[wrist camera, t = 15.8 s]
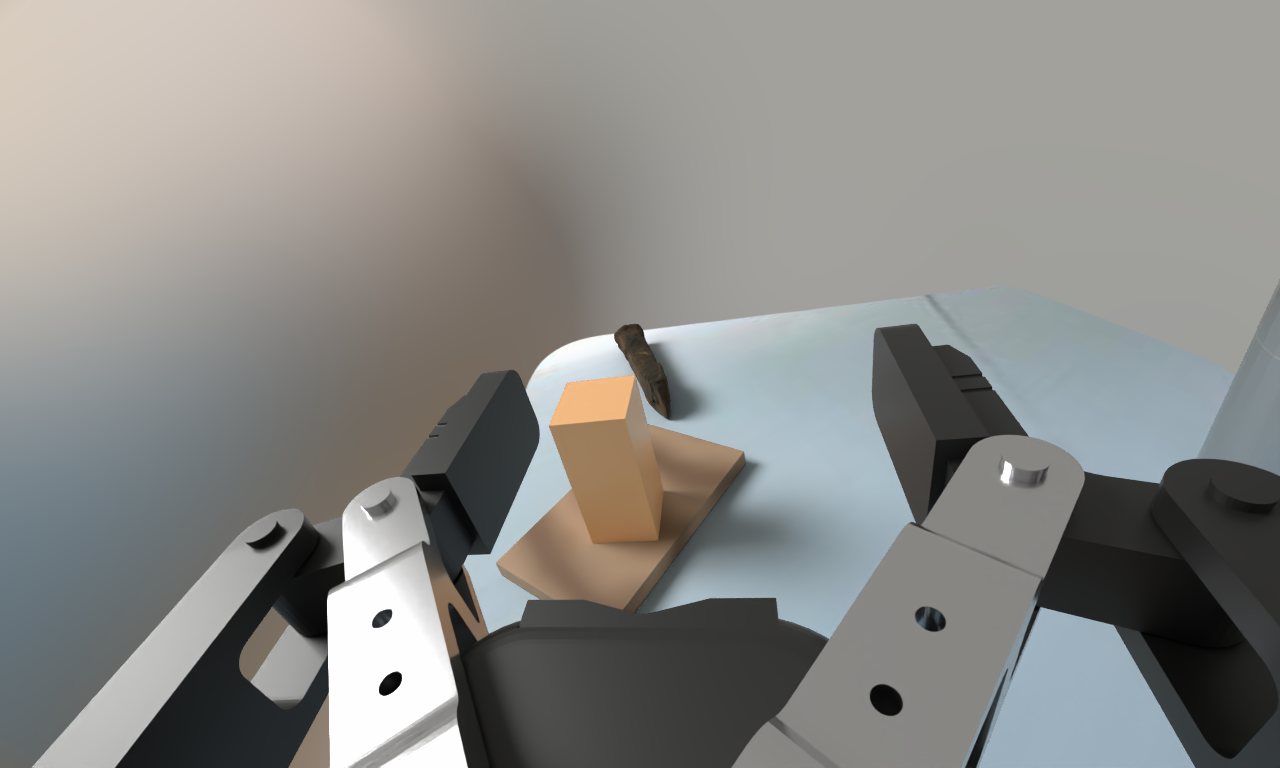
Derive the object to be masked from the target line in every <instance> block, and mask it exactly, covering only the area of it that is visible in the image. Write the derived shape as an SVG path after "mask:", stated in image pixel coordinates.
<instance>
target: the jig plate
mask: <svg viewBox="0 0 1280 768" xmlns="http://www.w3.org/2000/svg"><path fill="white" fill-rule="evenodd" d="M647 425H648V429H649V433H650V437H651V441H652V445H653V449H654V453H655V457H656V462H657V466H658V470H659V474H660V478H661V482H662V486H663V490H664V493H663V502H662V512H661V521H660V530H659V539H658V540H655V541H633V542H612V543H592V540H591V538H590V535H589V532H588V530H587V527H586V524H585V522H584V519H583V516H582V514H581V511H580V508H579V506H578V503H577V500H576V497H575V495H574V492H573V489H571V490H570V491H569V492H568V493H567V494H566V495H565V496H564V497H563V498H562V499H561V500H560V501H559V502H558V503H557V504H556V505H555V506H554V507H553V508H552V509H551V510H550V511H549V512H548V513H547V514H546V515H545V516H543V517H542V518H541V519H540V520H539V521H538V522H537V523H536V524H535V525H534V526H533V527H532V528H531V529H530V530H529V531H528V532H527V533H526V534H525V535H524V536H523V537H522V538H521V539H520V540H519V541H518V542H517V543H516V544H515V545H514V546H513V547H512V548H511V549H510V550H509V551H508V552H507V553H506V554H505V555H504V556H503V557H501V558H500V559H499V560H498V561H497V562H496V565H497V567H498V569H499V570H500V572H501V574H502V575H503V576H504V577H506V578H507V579H509V580H511V581H512V582H514V583H515V584H517V585H518V586H520V587H522V588H523V589H525V590H526V591H528V592H529V593H531V594H533V595H534V596H536V597H537V598H539V599H540V600H588V601H591V602H595V603H599V604H603V605H607V606H610V607H614V608H618V609H622V610H626V611H629V612H633V613H635V612H636V610H637V609H638V608H639V606H640V605H641V604H642V602H643V601H644V600H645V598H646V597H647V595H648V594H649V593H650V591H651V590H652V589H653V587H654V586H655V585H656V583H657V582H658V581H659V579H660V578H661V577H662V575H663V574H664V573H665V571H666V570H667V569H668V567H669V566H670V565H671V563H672V562H673V561H674V559H675V558H676V557H677V555H678V554H679V553H680V551H681V550H682V548H683V547H684V546H685V544H686V543H687V542H688V540H689V539H690V538H691V536H692V535H693V534H694V532H695V531H696V530H697V528H698V527H699V526H700V524H701V523H702V522H703V520H704V519H705V518H706V516H707V515H708V514H709V512H710V511H711V510H712V508H713V507H714V506H715V504H716V503H717V501H718V500H719V499H720V497H721V496H722V495H723V493H724V492H725V491H726V489H727V488H728V487H729V485H730V484H731V483H732V481H733V480H734V479H735V477H736V476H737V475H738V473H739V472H740V471H741V469H742V468H743V467H744V465H745V457H744V451H740V450H737V449H733V448H730V447H726V446H723V445H719V444H716V443H712V442H709V441H705V440H702V439H698V438H695V437H691V436H688V435H684V434H681V433H677V432H674V431H670V430H667V429H663V428H660V427H656V426H653V425H649V424H647Z"/></svg>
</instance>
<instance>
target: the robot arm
mask: <svg viewBox="0 0 1280 768" xmlns="http://www.w3.org/2000/svg"><path fill="white" fill-rule="evenodd" d="M872 400H873V408H874V413H875V417H876V420H877V423H878V426H879V428H880V431H881V433H882V436H883V439H884V441H885V444H886V446H887V449H888V452H889V454H890V457H891V459H892V462H893V465H894V467H895V470H896V472H897V475H898V478H899V480H900V483H901V485H902V488H903V491H904V493H905V496H906V498H907V501H908V504H909V506H910V509H911V511H912V514H913V517H914V519H915V522H916V523H914V522H910V523H908V524H907V525H906V526H905V527H904V528H903V530H902V531H901V532H900V534H899V535H898V537H897V538H896V540H895V541H894V543H893V544H892V546H891V547H890V549H889V550H888V552H887V553H886V555H885V556H884V558H883V559H882V561H881V562H880V564H879V565H878V567H877V569H876V570H875V572H874V573H873V575H872V576H871V578H870V579H869V581H868V582H867V584H866V585H865V587H864V588H863V590H862V591H861V593H860V594H859V596H858V597H857V599H856V600H855V602H854V603H853V605H852V606H851V608H850V609H849V611H848V612H847V614H846V615H845V617H844V618H843V620H842V621H841V623H840V624H839V626H838V627H837V629H836V630H835V632H834V633H833V635H832V636H831V638H830V639H828V638H827V637H825V636H823V635H821V634H819V633H817V632H815V631H813V630H811V629H808V628H806V627H803V626H800V625H798V624H795V623H792V622H789V621H785V620H781V619H778V611H777V603H776V598H710V599H706V600H702V601H698V602H694V603H690V604H686V605H682V606H677V607H673V608H669V609H665V610H661V611H657V612H653V613H649V614H637V613H633V612H629V611H626V610H622V609H618V608H614V607H610V606H607V605H603V604H599V603H595V602H591V601H588V600H528V601H527V604H526V607H525V610H524V613H523V616H522V619H521V621H518V622H515V623H512V624H510V625H507V626H505V627H502V628H500V629H498V630H496V631H494V632H492V633H490V634H489V633H488V630H487V627H486V624H485V621H484V618H483V615H482V612H481V609H480V606H479V603H478V600H477V597H476V594H475V591H474V588H473V585H472V582H471V579H470V576H469V573H468V571H467V570H466V568H465V566H464V565H463V564H464V562H465V560H466V557H467V555H479V554H490V553H491V551H492V549H493V547H494V544H495V542H496V540H497V538H498V535H499V533H500V531H501V528H502V526H503V524H504V522H505V519H506V517H507V515H508V513H509V510H510V508H511V506H512V503H513V501H514V499H515V497H516V494H517V492H518V490H519V488H520V485H521V483H522V481H523V478H524V476H525V474H526V472H527V469H528V467H529V465H530V463H531V460H532V458H533V456H534V453H535V451H536V449H537V447H538V443H539V436H540V433H539V424H538V421H537V418H536V416H535V413H534V411H533V408H532V406H531V403H530V401H529V398H528V395H527V393H526V390H525V388H524V385H523V383H522V380H521V378H520V376H519V374H518V373H517V372H516V371H514V370H506V371H497V372H489V373H483V374H481V375H480V377H479V378H478V379H477V381H476V382H475V384H474V385H473V387H472V388H471V390H470V391H469V392H468V394H467V395H465V396H464V397H462V398H461V399H460V400H459V401H457V402H456V403H455V404H454V405H452V406H451V407H450V408H449V409H448V410H447V411H446V413H445V414H444V416H443V417H442V418H441V420H440V421H439V422H438V426H437V427H435V428H434V429H433V431H432V432H431V434H430V435H429V439H426V441H425V442H424V444H423V445H422V446H421V448H420V449H419V450H418V452H417V453H416V455H415V456H414V457H413V459H412V460H411V462H410V463H409V464H408V466H407V467H406V469H405V470H404V471H403V473H402V474H401V476H400V477H396V478H390V479H386V480H383V481H381V482H378V483H376V484H374V485H372V486H370V487H369V488H367V489H366V490H364V491H363V492H361V493H360V494H359V495H358V496H356V497H355V498H354V499H353V501H351V502H350V504H349V505H348V506H347V508H346V510H345V511H344V514H343V516H341V517H338V518H335V519H332V520H328V521H325V522H322V523H318V524H315V525H312V524H311V523H310V521H309V520H308V519H307V518H306V516H305V515H304V514H303V513H302V512H301V511H300V510H298V509H284V510H280V511H277V512H275V513H272V514H269V515H267V516H265V517H263V518H262V519H260V520H258V521H256V522H255V523H254V524H252V525H250V526H249V527H248V528H247V529H245V530H244V531H243V532H242V533H241V534H240V535H239V536H238V537H237V538H236V539H235V540H234V541H233V542H232V543H231V544H230V545H229V547H228V548H227V549H226V550H225V551H224V552H223V553H222V554H221V555H220V557H219V558H218V559H217V560H216V561H215V562H214V563H213V564H212V566H211V567H210V568H209V569H208V570H207V571H206V572H205V573H204V575H203V576H202V577H201V578H200V579H199V580H198V581H197V582H196V584H195V585H194V586H193V587H192V588H191V589H190V591H188V593H187V594H186V595H185V596H184V597H183V598H182V599H181V600H180V602H179V603H178V604H177V605H176V606H175V607H174V608H173V609H172V611H171V612H170V613H169V614H168V615H167V616H166V617H165V618H164V620H163V621H162V622H161V623H160V624H159V625H158V626H157V627H156V629H155V630H154V631H153V632H152V633H151V634H150V635H149V636H148V638H147V639H146V640H145V641H144V642H143V643H142V644H141V646H140V647H139V648H138V649H137V650H136V651H135V652H134V653H133V654H132V656H131V657H130V658H129V659H128V660H127V661H126V662H125V663H124V665H123V666H122V667H121V668H120V669H119V670H118V671H117V673H115V675H114V676H113V677H112V678H111V679H110V680H109V681H108V683H107V684H106V685H105V686H104V687H103V688H102V689H101V691H99V693H98V694H97V695H96V696H95V697H94V698H93V699H92V700H91V702H90V703H89V704H88V705H87V706H86V707H85V708H84V710H83V711H82V712H81V713H80V714H79V715H78V716H77V717H76V718H75V720H74V721H73V722H72V723H71V724H70V725H69V726H68V728H67V729H66V730H65V731H64V732H63V733H62V734H61V735H60V736H59V738H58V739H57V740H56V741H55V742H54V743H53V744H52V746H51V747H50V748H49V749H48V750H47V751H46V752H45V753H44V754H43V756H42V757H41V758H40V759H39V760H38V761H37V762H36V763H35V765H34V766H33V767H32V768H288V767H289V765H290V763H291V762H292V760H293V758H294V756H295V754H296V752H297V751H298V748H299V747H300V745H301V743H302V741H303V739H304V738H305V736H306V734H307V732H308V730H309V728H310V726H311V725H312V723H313V721H314V719H315V717H316V715H317V714H318V712H319V710H320V708H321V706H322V704H323V702H324V701H325V699H326V697H327V695H328V693H329V695H330V697H329V698H330V748H331V749H330V752H331V768H978V767H979V765H980V762H981V760H982V757H983V755H984V752H985V750H986V747H987V745H988V742H989V739H990V737H991V734H992V732H993V729H994V726H995V724H996V721H997V718H998V715H999V713H1000V710H1001V707H1002V705H1003V702H1004V699H1005V697H1006V694H1007V692H1008V689H1009V687H1010V684H1011V682H1012V679H1013V677H1014V674H1015V672H1016V670H1017V667H1018V665H1019V662H1020V660H1021V657H1022V655H1023V652H1024V650H1025V647H1026V645H1027V642H1028V640H1029V637H1030V635H1031V633H1032V630H1033V628H1034V625H1035V623H1036V620H1037V618H1038V615H1039V613H1040V610H1041V608H1042V607H1043V608H1047V609H1051V610H1055V611H1059V612H1063V613H1067V614H1071V615H1075V616H1079V617H1083V618H1087V619H1091V620H1095V621H1099V622H1104V623H1108V624H1112V625H1114V626H1115V628H1116V630H1117V631H1118V633H1119V635H1120V637H1121V638H1122V640H1123V642H1124V644H1125V645H1126V647H1127V649H1128V651H1129V652H1130V654H1131V656H1132V658H1133V659H1134V661H1135V663H1136V665H1137V666H1138V668H1139V670H1140V672H1141V673H1142V675H1143V677H1144V678H1145V680H1146V682H1147V684H1148V685H1149V687H1150V689H1151V691H1152V692H1153V694H1154V696H1155V698H1156V699H1157V701H1158V703H1159V705H1160V706H1161V708H1162V710H1163V712H1164V713H1165V715H1166V717H1167V719H1168V720H1169V722H1170V724H1171V726H1172V727H1173V729H1174V731H1175V733H1176V734H1177V736H1178V738H1179V740H1180V741H1181V743H1182V745H1183V747H1184V748H1185V750H1186V752H1187V754H1188V755H1189V757H1190V759H1191V761H1192V762H1193V764H1194V766H1195V768H1280V280H1279V283H1278V285H1277V287H1276V289H1275V291H1274V293H1273V295H1272V298H1271V300H1270V302H1269V304H1268V306H1267V308H1266V310H1265V312H1264V315H1263V317H1262V319H1261V321H1260V323H1259V325H1258V328H1257V331H1256V333H1255V335H1254V337H1253V339H1252V341H1251V344H1250V346H1249V348H1248V350H1247V352H1246V354H1245V356H1244V358H1243V361H1242V363H1241V365H1240V367H1239V369H1238V372H1237V373H1236V376H1235V378H1234V380H1233V382H1232V384H1231V386H1230V388H1229V391H1228V393H1227V395H1226V397H1225V399H1224V401H1223V403H1222V406H1221V408H1220V410H1219V412H1218V414H1217V416H1216V418H1215V421H1214V423H1213V425H1212V427H1211V429H1210V431H1209V433H1208V436H1207V438H1206V440H1205V442H1204V444H1203V446H1202V448H1201V451H1200V453H1199V455H1198V457H1197V459H1191V460H1186V461H1181V462H1179V463H1176V464H1174V465H1172V466H1171V467H1169V468H1168V469H1167V471H1166V472H1165V474H1164V476H1163V478H1162V480H1161V482H1160V484H1158V483H1151V482H1144V481H1137V480H1130V479H1123V478H1116V477H1109V476H1103V475H1097V474H1092V473H1088V472H1085V471H1083V469H1082V467H1081V465H1080V464H1079V463H1078V461H1077V460H1076V459H1075V458H1074V457H1073V456H1072V455H1070V454H1069V453H1067V452H1066V451H1065V450H1063V449H1061V448H1059V447H1058V446H1056V445H1053V444H1051V443H1049V442H1046V441H1043V440H1040V439H1036V438H1032V437H1029V436H1028V435H1027V433H1026V432H1025V431H1024V429H1023V428H1022V427H1021V425H1020V424H1019V423H1018V421H1017V420H1016V419H1015V417H1014V416H1013V414H1012V413H1011V412H1010V410H1009V409H1008V408H1007V406H1006V405H1005V404H1004V402H1003V401H1002V400H1001V398H1000V397H999V396H998V394H997V393H996V391H995V390H992V386H991V385H990V383H989V382H988V381H987V379H986V378H985V377H983V376H982V373H981V371H980V370H979V368H978V367H977V366H976V364H975V363H974V362H973V360H972V359H971V358H970V357H969V356H967V355H965V354H964V353H962V352H960V351H958V350H957V349H955V348H953V347H951V346H950V345H941V346H931V344H930V342H929V341H928V339H927V338H926V336H925V335H924V333H923V332H922V330H921V329H920V327H919V326H918V325H917V324H909V325H900V326H892V327H883V328H877V329H876V330H875V334H874V348H873V377H872ZM271 607H273V608H274V609H275V610H276V611H277V612H278V613H279V614H280V615H281V616H282V617H283V618H284V619H285V620H286V621H287V622H288V623H289V626H288V627H287V629H286V630H285V632H284V633H283V635H282V636H281V638H280V639H279V641H278V642H277V643H276V645H275V646H274V648H273V649H272V651H271V652H270V654H269V655H268V657H267V658H266V660H265V661H264V663H263V664H262V666H261V667H260V669H259V670H258V672H257V673H256V675H255V676H254V678H253V679H252V681H251V682H249V681H248V680H247V679H246V678H245V677H243V675H242V674H241V672H240V669H239V657H240V654H241V651H242V649H243V647H244V645H245V644H246V642H247V641H248V639H249V638H250V637H251V635H252V634H253V632H254V631H255V629H256V628H257V627H258V625H259V624H260V623H261V621H262V620H263V618H264V617H265V616H266V614H267V613H268V612H269V610H270V609H271Z"/></svg>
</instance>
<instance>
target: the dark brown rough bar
mask: <svg viewBox="0 0 1280 768" xmlns="http://www.w3.org/2000/svg"><path fill="white" fill-rule="evenodd" d="M614 338H615V341H616V343H617V344H618V347H619V348H620V350H621V351H622V352H623V353H624V355H625V358H626V359H627V360H628V361H629V364H630V366H631V368H632V370H633V372H634V373H635V375H636V377H637V379H638V381H639V383H640V385H641V387H642V389H643V391H644V394H645V397H646V399H647V401H648V402H649V404H650V405H651V406H652V407H653V408H654V409H655V410H656V411H657V412H658V413H659V414H661V415H662V416H664V417H665V418H666V419H668V418H669V417H670V412H671V411H670V402H671V400H670V394H669V389H668V382H667V378H666V376H665V374H664V371H663V368H662V366H661V364H660V363H657V361H656V359H655V357H654V355H653V353H652V351H651V349H650V348H649V346H648V344H647V342H646V340H645V338H644V332H643V329H642V328H641V326H639V324H630V325H624V326H622V327H621V328H620V329H619V330H618V331H617V332H616V333H615V334H614ZM667 410H668V411H667Z"/></svg>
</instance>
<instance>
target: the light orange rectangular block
mask: <svg viewBox="0 0 1280 768" xmlns="http://www.w3.org/2000/svg"><path fill="white" fill-rule="evenodd" d="M549 428H550V430H551V433H552V436H553V438H554V441H555V444H556V446H557V449H558V452H559V454H560V457H561V460H562V463H563V465H564V468H565V471H566V473H567V476H568V479H569V481H570V484H571V487H572V489H573V492H574V495H575V497H576V500H577V503H578V506H579V508H580V511H581V514H582V516H583V519H584V522H585V524H586V527H587V530H588V532H589V535H590V538H591V540H592V543H612V542H633V541H655V540H658V539H659V530H660V521H661V512H662V502H663V493H664V490H663V486H662V482H661V478H660V474H659V470H658V466H657V462H656V457H655V453H654V449H653V445H652V441H651V437H650V433H649V429H648V425H647V421H646V417H645V413H644V409H643V405H642V401H641V397H640V393H639V389H638V385H637V381H636V377H635V375H631V376H622V377H613V378H605V379H596V380H587V381H578V382H570V383H567V384H566V387H565V389H564V391H563V394H562V396H561V398H560V401H559V403H558V405H557V408H556V410H555V413H554V415H553V417H552V420H551V422H550V424H549Z"/></svg>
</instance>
